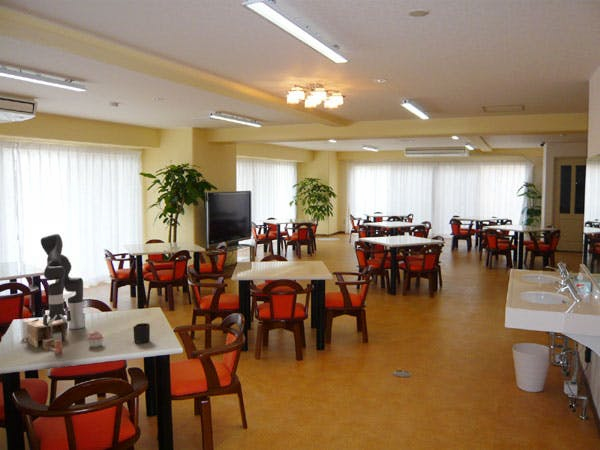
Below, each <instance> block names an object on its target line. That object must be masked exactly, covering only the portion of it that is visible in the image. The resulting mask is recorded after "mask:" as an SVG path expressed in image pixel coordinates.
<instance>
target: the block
mask: <svg viewBox="0 0 600 450" xmlns="http://www.w3.org/2000/svg"><path fill="white" fill-rule="evenodd" d="M52 334H53V339H55V341H56V340H62V341H63V339H62V333H61V332H59V331H56V332H52Z"/></svg>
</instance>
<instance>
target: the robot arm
mask: <svg viewBox="0 0 600 450" xmlns="http://www.w3.org/2000/svg"><path fill="white" fill-rule="evenodd" d="M40 245H41V247H42V249H43V251H44V253H45V254H46V255H47V258H46V264H47V265H46V266H45V268H44V272H43V276H44V278H45V279H46V280H48V281H51V280H57V281H56V282H53V283H50V284H49V285H48V311H49V313H45V314H44V313H43V314H42V315H43V316H42V320H43V325H45V326H47V331H48V332H49V333H51V326H50V325H51V324H52V323H53V321H57V320H61V319H62V320H63V321H64V329H67V330H68V329H69V330H79V329H83V328H85V327H86V317H85V316H86V315H85V312H84V280H83V278H82V277H70V276H69V275H70V272H71V270H72V263H71V262H70V260H69V258H68V257H67V256H66V255H63V254H62V252H63V246H64V245H63V240H62V237H61V235H60V234H58V233H53V234H50V235H47V236H44V237H42V238H41V239H40ZM63 288H64V289H65V291H66V292H68V293H74V292H75V294H74V295H73V296H69V297H68V298H67V310H65V299H64V293H63V292H64V290H63ZM65 315H66V317H65ZM47 319H49V321H48V323H47Z"/></svg>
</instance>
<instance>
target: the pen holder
mask: <svg viewBox="0 0 600 450" xmlns="http://www.w3.org/2000/svg"><path fill="white" fill-rule="evenodd" d="M132 329H133V338H134V339H133V341H134V343H135V344H137V345H138V344H139V345H140V344H146V343H149V342H150V338H151V337H150V336H151V335H150V334H151V332H150V330H151V327H150V324H149V323H143V322H140V323H138V324H137V323H136V325H134V326H133V328H132Z"/></svg>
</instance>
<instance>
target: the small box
mask: <svg viewBox="0 0 600 450" xmlns="http://www.w3.org/2000/svg"><path fill="white" fill-rule="evenodd" d="M34 321H40V319H39V318H28V319H26V320H23V321H22V323H21V324H22V338H23V339H28V336H27V323H29V322H34Z"/></svg>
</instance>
